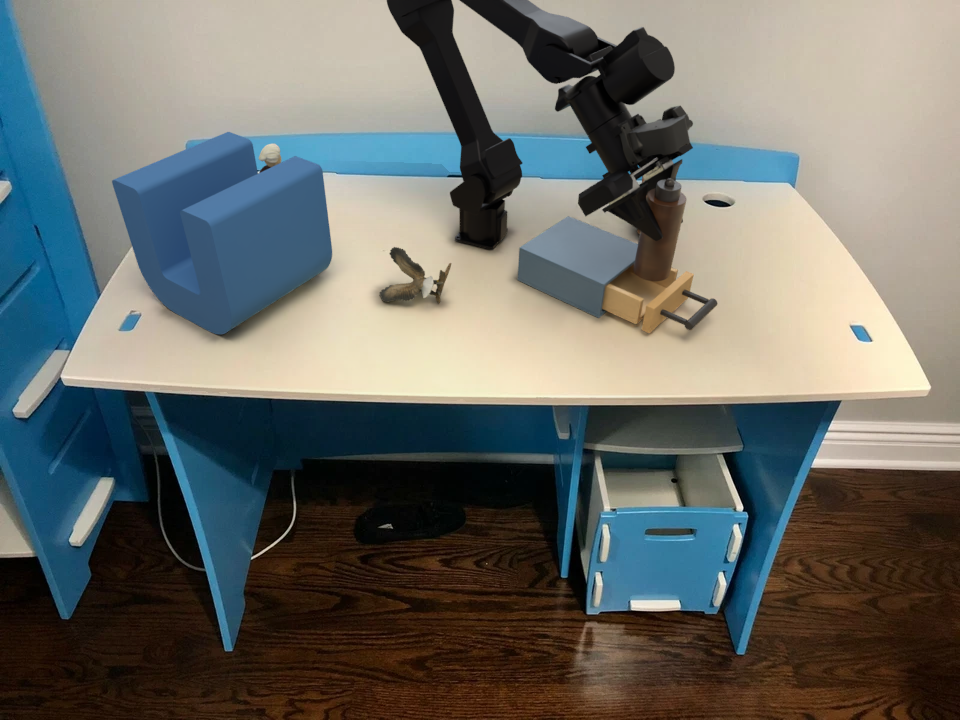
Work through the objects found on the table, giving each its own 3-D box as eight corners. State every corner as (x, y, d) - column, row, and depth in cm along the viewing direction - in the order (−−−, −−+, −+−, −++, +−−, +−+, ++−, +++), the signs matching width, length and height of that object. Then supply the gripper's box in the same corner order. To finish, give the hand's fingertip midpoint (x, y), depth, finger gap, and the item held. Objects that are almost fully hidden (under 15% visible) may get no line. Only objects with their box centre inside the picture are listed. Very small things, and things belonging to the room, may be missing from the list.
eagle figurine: (451, 274, 108) (391, 256, 109) (452, 254, 101) (388, 234, 102) (435, 322, 106) (374, 304, 106) (435, 305, 99) (369, 285, 100)
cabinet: (644, 281, 110) (650, 248, 106) (598, 318, 103) (603, 284, 99) (564, 247, 117) (568, 215, 113) (517, 280, 110) (519, 247, 106)
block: (336, 283, 108) (321, 165, 97) (238, 347, 97) (209, 222, 85) (248, 243, 116) (225, 130, 104) (148, 299, 104) (110, 178, 93)
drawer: (720, 311, 103) (726, 287, 101) (682, 348, 97) (688, 323, 94) (608, 263, 112) (611, 240, 109) (566, 295, 106) (568, 271, 103)
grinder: (634, 280, 99) (652, 186, 90) (632, 260, 103) (648, 168, 94) (671, 282, 99) (692, 189, 90) (667, 262, 102) (687, 171, 94)
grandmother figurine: (308, 221, 121) (297, 146, 113) (291, 231, 119) (279, 155, 111) (273, 208, 125) (260, 133, 116) (256, 217, 122) (241, 142, 114)
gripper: (612, 112, 82) (683, 237, 84) (694, 69, 93) (755, 179, 95) (547, 158, 91) (613, 270, 93) (629, 113, 102) (686, 214, 104)
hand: (669, 231), depth 96 cm, fingers closed on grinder, 5 cm apart
